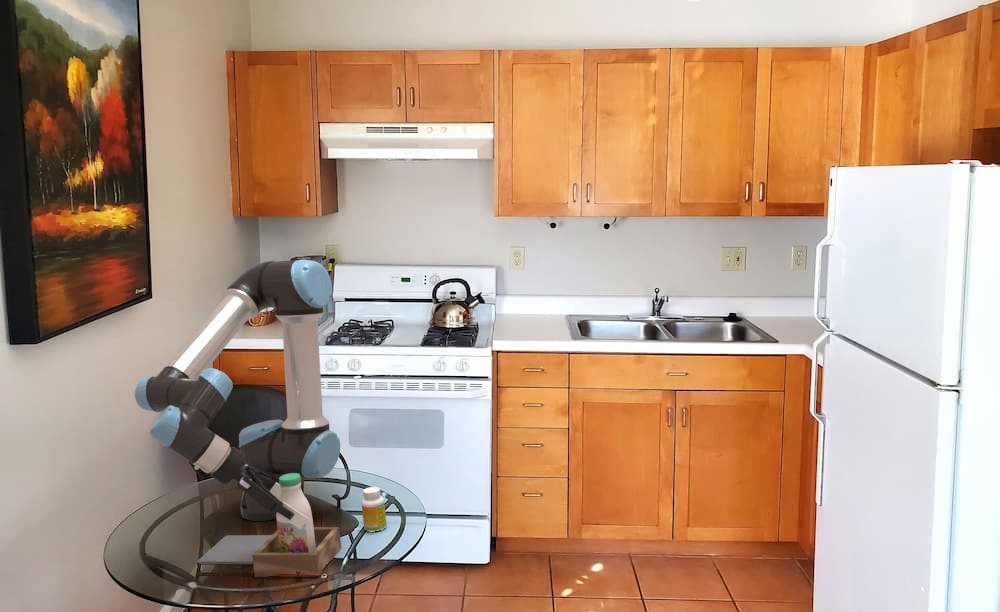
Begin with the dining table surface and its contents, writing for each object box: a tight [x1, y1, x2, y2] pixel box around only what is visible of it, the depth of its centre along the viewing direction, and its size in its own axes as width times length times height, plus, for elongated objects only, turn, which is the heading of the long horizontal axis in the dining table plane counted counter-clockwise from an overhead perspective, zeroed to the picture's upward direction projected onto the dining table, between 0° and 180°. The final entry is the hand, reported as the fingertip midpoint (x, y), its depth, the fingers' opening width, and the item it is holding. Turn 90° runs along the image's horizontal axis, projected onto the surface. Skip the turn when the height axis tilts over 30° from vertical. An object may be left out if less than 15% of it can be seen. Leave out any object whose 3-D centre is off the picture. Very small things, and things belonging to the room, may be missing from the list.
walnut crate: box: [252, 526, 342, 578], centre depth 188 cm, size 14×14×5 cm
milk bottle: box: [275, 473, 316, 553], centre depth 187 cm, size 8×8×20 cm
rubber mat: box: [196, 534, 273, 565], centre depth 197 cm, size 14×14×1 cm
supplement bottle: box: [361, 486, 387, 533], centre depth 203 cm, size 5×5×10 cm
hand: (299, 513), depth 187 cm, fingers open, 13 cm apart
